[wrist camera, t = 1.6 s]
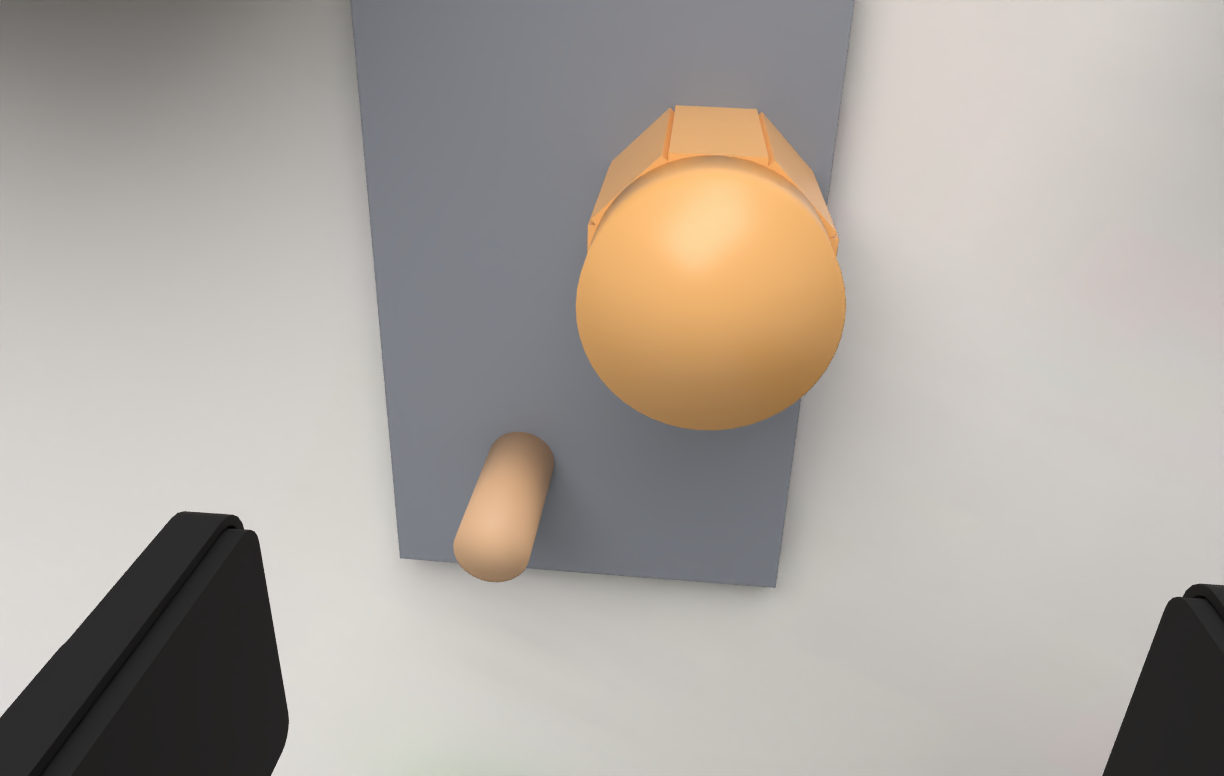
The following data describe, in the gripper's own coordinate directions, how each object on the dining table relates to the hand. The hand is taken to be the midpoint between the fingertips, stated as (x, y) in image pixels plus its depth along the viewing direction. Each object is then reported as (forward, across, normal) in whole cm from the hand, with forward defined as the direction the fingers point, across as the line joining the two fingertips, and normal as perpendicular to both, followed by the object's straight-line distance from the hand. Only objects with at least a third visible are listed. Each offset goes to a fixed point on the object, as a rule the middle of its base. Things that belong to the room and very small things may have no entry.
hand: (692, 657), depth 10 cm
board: (+18, +3, +3) cm, 18 cm away
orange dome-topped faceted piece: (+17, 0, 0) cm, 17 cm away
